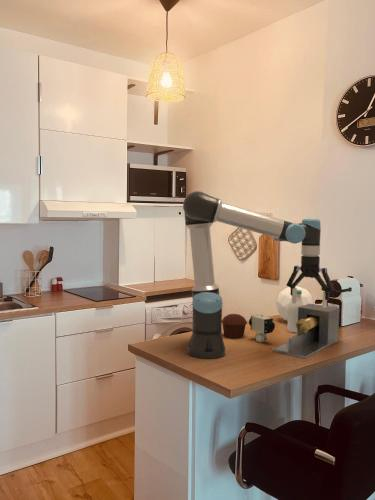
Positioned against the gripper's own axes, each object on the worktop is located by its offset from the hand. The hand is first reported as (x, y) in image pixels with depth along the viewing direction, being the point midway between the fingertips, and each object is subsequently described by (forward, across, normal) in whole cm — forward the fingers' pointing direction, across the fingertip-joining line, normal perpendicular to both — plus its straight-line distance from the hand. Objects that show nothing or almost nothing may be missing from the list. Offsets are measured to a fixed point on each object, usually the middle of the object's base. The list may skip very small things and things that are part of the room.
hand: (309, 305), depth 188 cm
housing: (+18, 0, 0) cm, 18 cm away
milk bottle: (+18, +15, -20) cm, 31 cm away
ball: (+18, +24, -37) cm, 48 cm away
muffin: (+18, +32, +8) cm, 38 cm away
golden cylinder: (+11, 0, -2) cm, 11 cm away
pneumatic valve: (+18, +18, +7) cm, 26 cm away
